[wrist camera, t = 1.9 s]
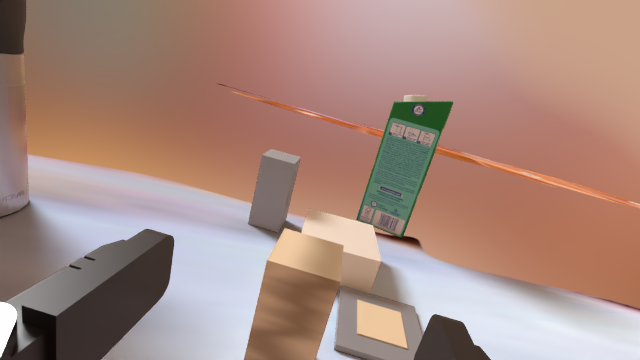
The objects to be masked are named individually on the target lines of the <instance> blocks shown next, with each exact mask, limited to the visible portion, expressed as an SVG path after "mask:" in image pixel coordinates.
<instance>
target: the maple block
mask: <svg viewBox="0 0 640 360" xmlns="http://www.w3.org/2000/svg"><path fill="white" fill-rule="evenodd" d="M343 248H344V245H341V244H337V243H334V242H330V241H327V240H324V239H320V238H317V237H313V236H310V235H306V234H303V233H300V232H296V231H293V230H289V229H286V228H285V229H284V231H283V232H282V234H281V236H280V238H279V240H278V241H277V243H276V245H275V247H274V249H273V250H272V252H271V254H270V256H269V258H268V260H267V263H266V267H265V272H264V276H263V280H262V285H261V289H260V293H259V298H258V302H257V306H256V310H255V315H254V319H253V323H252V328H251V332H250V336H249V341H248V345H247V349H246V354H245V358H244V360H315V359H316V356H317V352H318V349H319V346H320V343H321V340H322V337H323V334H324V331H325V328H326V325H327V322H328V318H329V315H330V312H331V309H332V306H333V303H334V300H335V297H336V294H337V291H338V288H339V284H340V280H341V269H342V259H343Z"/></svg>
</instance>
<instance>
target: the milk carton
mask: <svg viewBox="0 0 640 360" xmlns="http://www.w3.org/2000/svg"><path fill="white" fill-rule="evenodd" d="M426 100H427V96H425V95H406V96H404V101H399V102H398V101H395V102H394V104H393V106H392V110H391V113H390V116H389V119H388V122H387V125H386V128H385V131H384V135H383V138H382V141H381V144H380V147H379V151H378V153H377V157H376V160H375V163H374V166H373V169H372V172H371V175H370V178H369V182H368V185H367V188H366V191H365V194H364V197H363V200H362V203H361V206H360V210H359V213H358V216H357V220H358V221H361V222H363V223H366V224H370V225H373V227H376V228H378V229H381V230H383V231H386V232H388V233H390V234H393V235H395V236H398V237H400V238H402V237H403V235H404V232H405V229H406V227H407V224H408V222H409V219H410V217H411V214H412V211H413V209H414V206H415V203H416V201H417V198H418V195H419V193H420V190H421V188H422V185H423V182H424V180H425V177H426V174H427V172H428V169H429V166H430V164H431V161H432V158H433V156H434V153H435V150H436V148H437V145H438V143H439V140H440V137H441V134H442V132H443V129H444V127H445V124H446V121H447V119H448V116H449V113H450V111H451V108H452V105H453V102H429V101H426Z"/></svg>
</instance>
